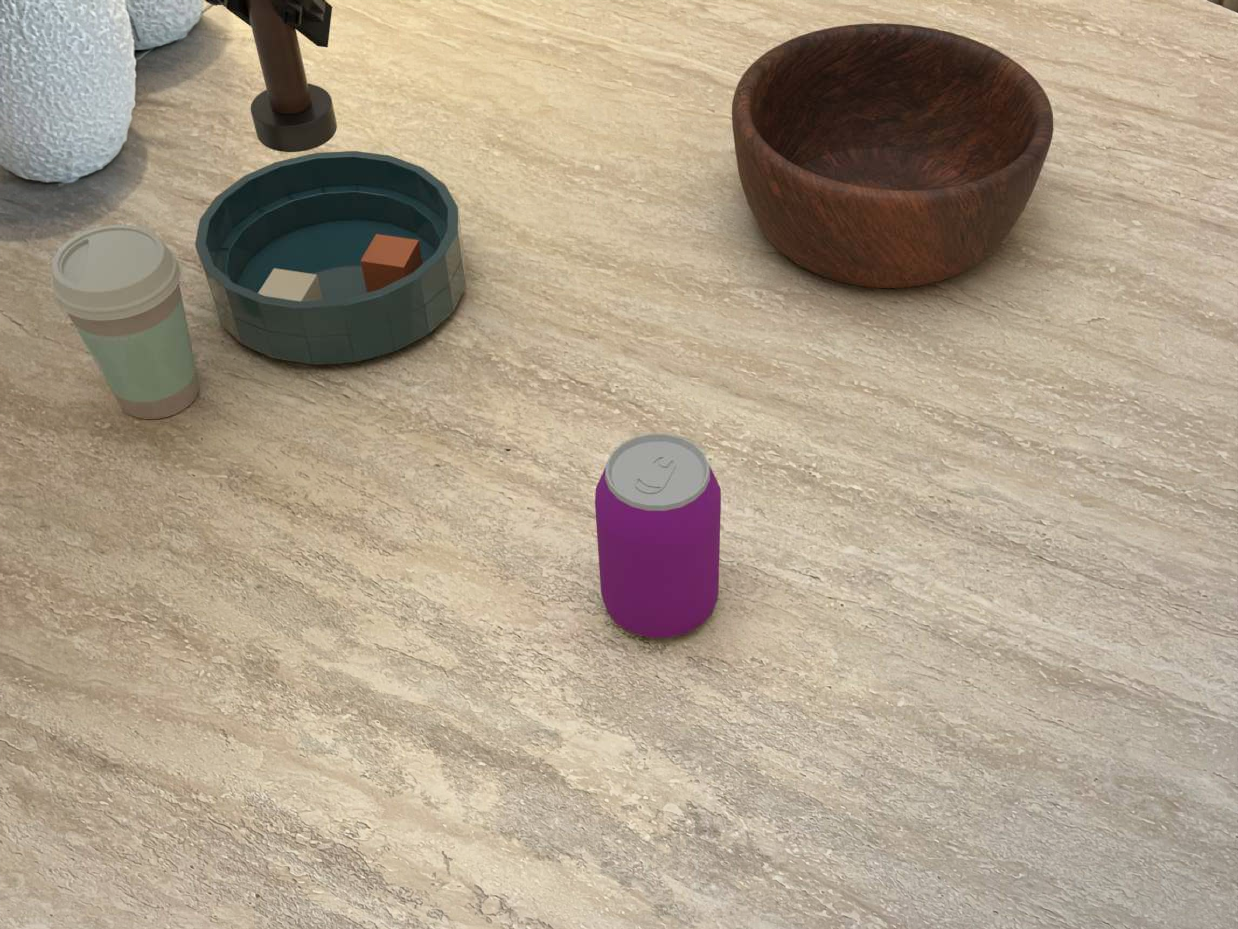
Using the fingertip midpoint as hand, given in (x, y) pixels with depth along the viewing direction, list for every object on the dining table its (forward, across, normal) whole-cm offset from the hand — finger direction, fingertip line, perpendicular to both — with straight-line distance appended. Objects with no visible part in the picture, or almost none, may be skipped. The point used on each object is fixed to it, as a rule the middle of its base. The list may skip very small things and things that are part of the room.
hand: (300, 23), depth 101 cm
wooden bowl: (+26, +40, -3) cm, 48 cm away
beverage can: (-6, +32, -35) cm, 48 cm away
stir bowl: (+13, 0, -16) cm, 21 cm away
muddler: (+1, 0, -7) cm, 7 cm away
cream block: (+8, -1, -20) cm, 21 cm away
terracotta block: (+12, +5, -16) cm, 20 cm away
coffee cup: (+2, -9, -27) cm, 28 cm away
